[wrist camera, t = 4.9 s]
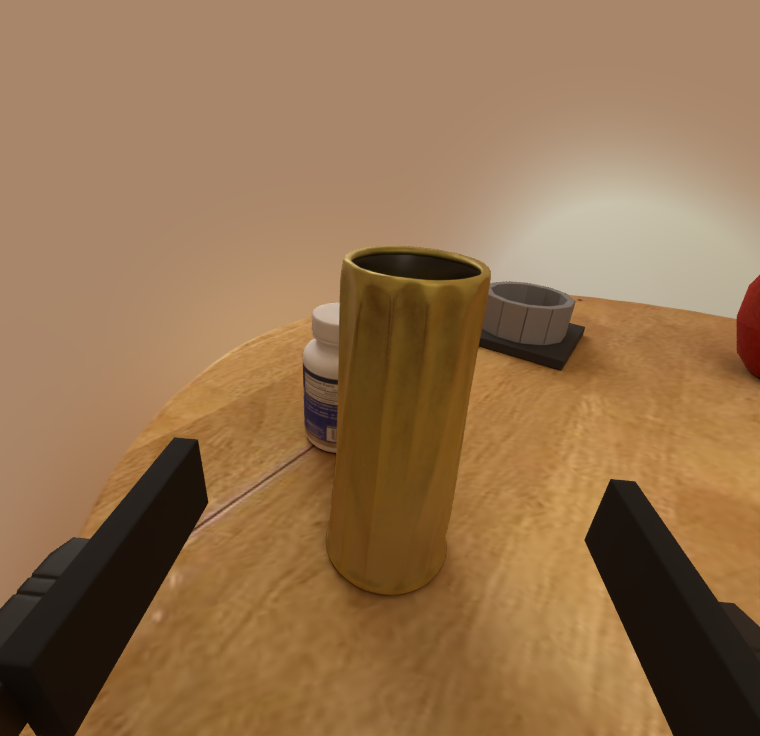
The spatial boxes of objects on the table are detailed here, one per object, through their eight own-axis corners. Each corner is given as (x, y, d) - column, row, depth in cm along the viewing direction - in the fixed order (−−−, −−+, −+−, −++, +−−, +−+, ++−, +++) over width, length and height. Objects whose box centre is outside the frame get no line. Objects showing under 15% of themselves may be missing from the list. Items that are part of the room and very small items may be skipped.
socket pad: (448, 337, 46) (455, 293, 44) (487, 310, 55) (494, 273, 53) (560, 370, 40) (575, 322, 38) (582, 334, 49) (595, 294, 47)
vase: (308, 580, 19) (303, 271, 12) (344, 487, 24) (355, 237, 18) (441, 612, 18) (512, 297, 11) (448, 508, 23) (500, 253, 17)
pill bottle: (331, 403, 32) (333, 293, 28) (392, 424, 30) (403, 309, 26) (288, 439, 28) (283, 315, 24) (355, 466, 26) (362, 336, 22)
